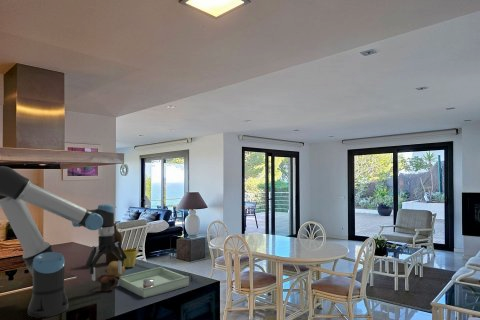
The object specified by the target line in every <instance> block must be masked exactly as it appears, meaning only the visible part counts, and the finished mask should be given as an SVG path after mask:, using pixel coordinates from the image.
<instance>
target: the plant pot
mask: <svg viewBox="0 0 480 320" xmlns="http://www.w3.org/2000/svg"><path fill="white" fill-rule="evenodd" d="M123 251H124V253H125V255H126V257H127V258H126V259H124V261H123V265H124V267H125V268H131V267H132V268H133V267H134V266H136V265H135V264H136V260H137V256H138V249H136V248H126V249H123ZM121 257H122V255H121Z"/></svg>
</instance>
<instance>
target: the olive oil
mask: <svg viewBox="0 0 480 320" xmlns="http://www.w3.org/2000/svg"><path fill="white" fill-rule="evenodd" d="M122 236H123V235H122V234H121V232H119V230H118V229H117V223H115V222H114V243H116V242H120V243H121V247H122V242H123V237H122ZM114 250H115V251H116V252H117V253H118V254H119V255H120V256H121V254H120V252H119V250H118V248H117V247H116V246H115V247H114ZM118 260H119V259H118V258H117V257H116V256H115V255H114V254H113V253H112V252H111V253H107V254H105V263H108V264H109V263H110V262H112V261H117V262H118Z"/></svg>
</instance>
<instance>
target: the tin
mask: <svg viewBox="0 0 480 320" xmlns="http://www.w3.org/2000/svg"><path fill="white" fill-rule="evenodd" d="M150 286H154V279H145V280H143V288H146V287H150Z"/></svg>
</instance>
